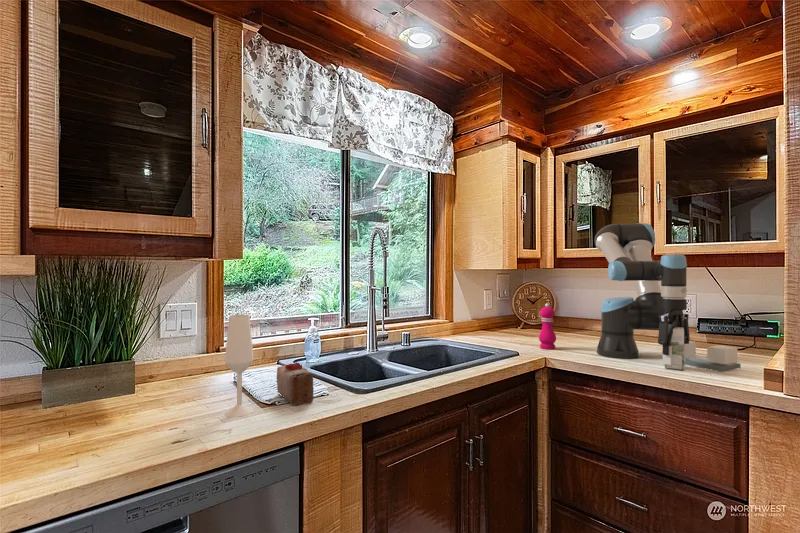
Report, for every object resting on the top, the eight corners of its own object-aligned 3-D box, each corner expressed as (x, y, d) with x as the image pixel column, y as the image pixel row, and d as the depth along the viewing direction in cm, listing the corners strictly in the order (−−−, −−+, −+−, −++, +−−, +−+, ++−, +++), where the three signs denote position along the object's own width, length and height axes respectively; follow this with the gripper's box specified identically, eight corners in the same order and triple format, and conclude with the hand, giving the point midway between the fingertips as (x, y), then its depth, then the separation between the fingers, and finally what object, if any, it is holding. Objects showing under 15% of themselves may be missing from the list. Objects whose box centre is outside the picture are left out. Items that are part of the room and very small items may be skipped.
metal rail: (670, 355, 158) (670, 353, 158) (678, 354, 161) (678, 352, 161) (727, 366, 141) (727, 363, 141) (735, 364, 144) (735, 362, 144)
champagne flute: (221, 417, 98) (221, 317, 99) (228, 408, 105) (228, 314, 105) (251, 415, 100) (251, 316, 100) (255, 406, 106) (255, 314, 106)
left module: (668, 354, 158) (668, 341, 158) (680, 352, 161) (680, 339, 161) (683, 356, 153) (683, 343, 153) (695, 354, 156) (695, 341, 156)
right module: (707, 361, 146) (707, 347, 146) (719, 358, 149) (719, 345, 149) (725, 364, 141) (725, 349, 141) (737, 361, 144) (737, 347, 144)
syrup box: (683, 367, 146) (683, 326, 146) (684, 370, 141) (684, 328, 141) (664, 365, 149) (664, 325, 149) (664, 368, 144) (664, 327, 144)
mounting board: (665, 360, 157) (665, 356, 157) (683, 357, 162) (683, 353, 162) (722, 371, 140) (722, 367, 140) (740, 367, 145) (740, 363, 145)
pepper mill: (535, 348, 182) (535, 303, 182) (544, 346, 187) (543, 302, 187) (551, 350, 177) (550, 304, 177) (559, 348, 182) (558, 303, 182)
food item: (273, 394, 117) (273, 360, 117) (300, 390, 121) (300, 356, 121) (289, 408, 105) (289, 369, 106) (318, 402, 110) (318, 365, 110)
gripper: (667, 300, 138) (667, 368, 137) (701, 297, 147) (702, 361, 146) (645, 298, 144) (645, 363, 144) (679, 296, 153) (679, 357, 153)
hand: (674, 362), depth 145 cm, fingers closed on syrup box, 7 cm apart
